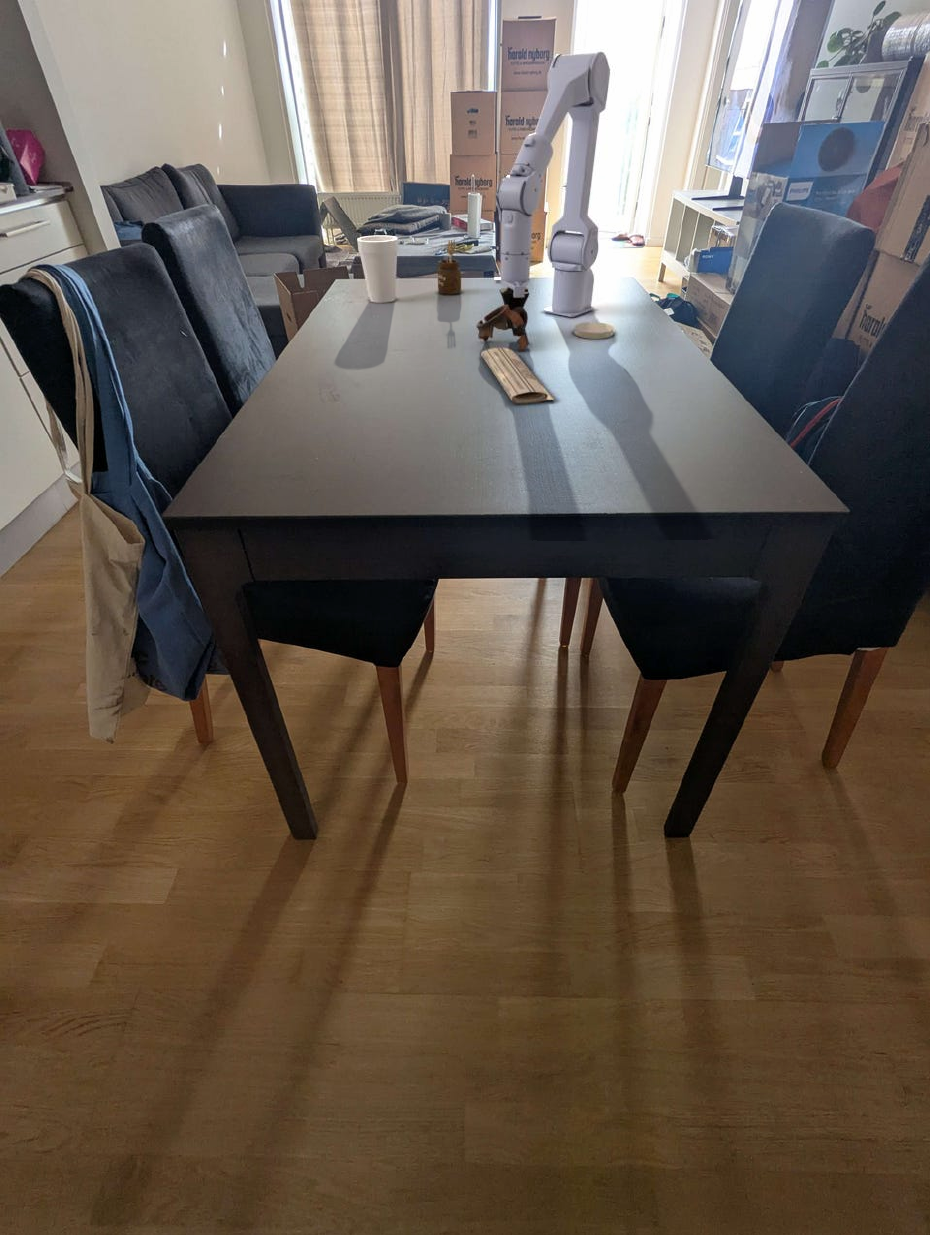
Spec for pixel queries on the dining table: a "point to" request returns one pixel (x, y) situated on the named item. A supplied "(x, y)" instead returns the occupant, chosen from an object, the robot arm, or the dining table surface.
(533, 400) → the newspaper
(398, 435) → the dining table surface
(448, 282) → the utensil holder
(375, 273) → the foam cup
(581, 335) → the tan round disc
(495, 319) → the brown curved piece
